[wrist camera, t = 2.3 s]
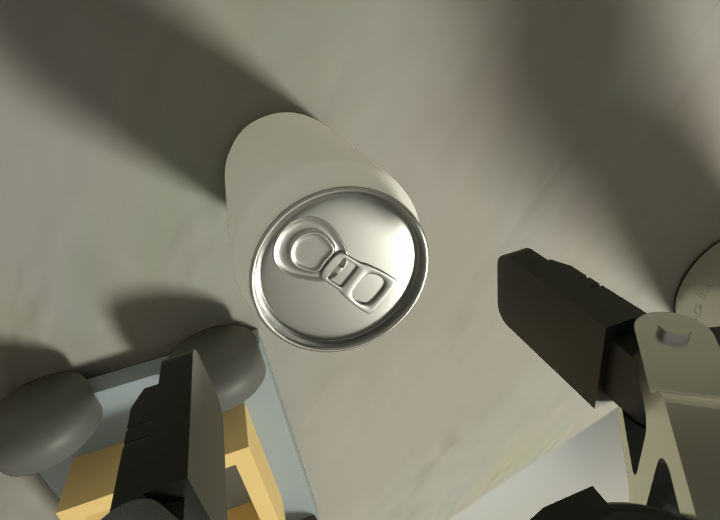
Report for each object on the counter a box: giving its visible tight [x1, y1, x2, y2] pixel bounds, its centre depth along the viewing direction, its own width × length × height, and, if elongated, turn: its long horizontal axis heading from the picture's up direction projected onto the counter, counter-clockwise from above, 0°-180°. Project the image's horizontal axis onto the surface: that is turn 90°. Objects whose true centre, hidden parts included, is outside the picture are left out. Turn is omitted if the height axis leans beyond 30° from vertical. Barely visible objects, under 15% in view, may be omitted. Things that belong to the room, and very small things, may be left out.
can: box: [225, 112, 429, 352], centre depth 19 cm, size 6×6×12 cm
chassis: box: [0, 325, 319, 520], centre depth 28 cm, size 14×20×5 cm
